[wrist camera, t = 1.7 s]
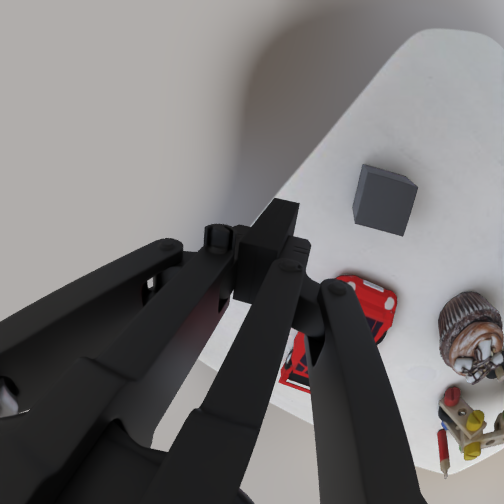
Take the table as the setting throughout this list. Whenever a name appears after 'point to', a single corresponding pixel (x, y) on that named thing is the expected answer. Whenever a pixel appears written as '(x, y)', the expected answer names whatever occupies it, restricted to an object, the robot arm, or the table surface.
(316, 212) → the table surface
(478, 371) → the cupcake
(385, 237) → the table surface
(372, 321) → the toy car
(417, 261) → the table surface
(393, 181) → the charcoal block
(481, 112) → the table surface
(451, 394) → the toy construction set
